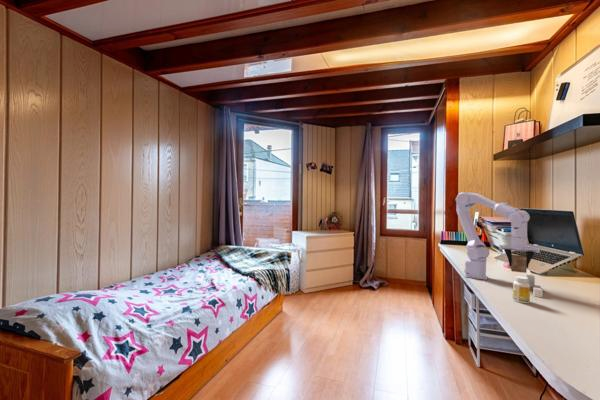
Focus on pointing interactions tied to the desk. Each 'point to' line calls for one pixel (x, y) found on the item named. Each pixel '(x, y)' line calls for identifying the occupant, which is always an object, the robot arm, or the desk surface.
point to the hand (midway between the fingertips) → (518, 266)
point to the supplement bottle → (521, 290)
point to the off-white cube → (537, 292)
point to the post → (532, 282)
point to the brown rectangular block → (519, 263)
